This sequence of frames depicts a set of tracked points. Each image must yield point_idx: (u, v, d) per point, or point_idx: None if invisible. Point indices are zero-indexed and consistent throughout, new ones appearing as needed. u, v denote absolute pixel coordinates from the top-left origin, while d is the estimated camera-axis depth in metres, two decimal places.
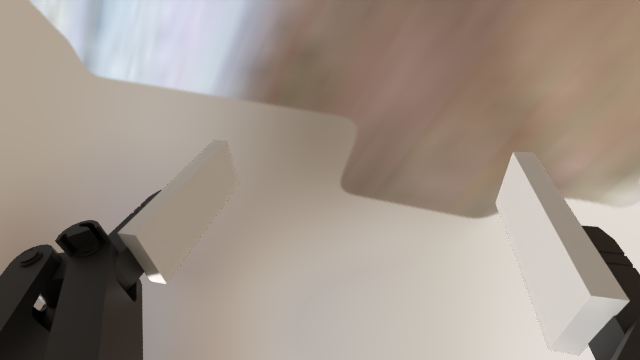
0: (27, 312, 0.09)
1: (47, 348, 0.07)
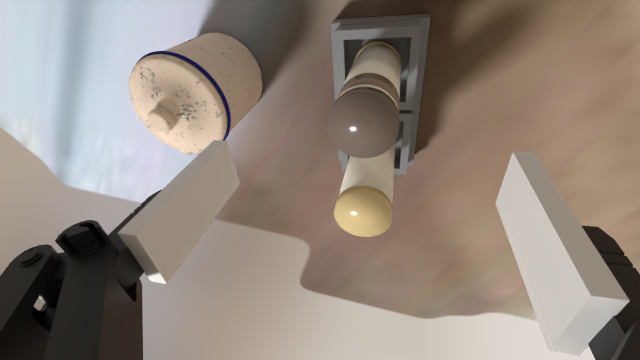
0: (27, 312, 0.09)
1: (47, 348, 0.07)
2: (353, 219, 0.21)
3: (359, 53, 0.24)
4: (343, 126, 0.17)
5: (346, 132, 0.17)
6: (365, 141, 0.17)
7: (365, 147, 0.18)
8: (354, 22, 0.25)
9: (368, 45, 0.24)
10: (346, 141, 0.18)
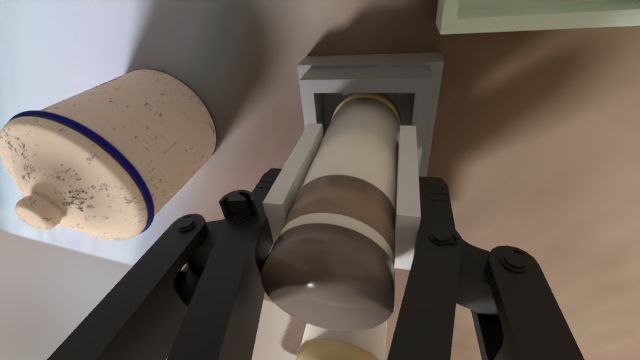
0: (170, 280, 0.09)
1: (190, 303, 0.08)
2: None
3: (338, 111, 0.16)
4: (290, 288, 0.09)
5: (297, 296, 0.09)
6: (332, 311, 0.09)
7: (333, 318, 0.10)
8: (331, 64, 0.17)
9: (351, 99, 0.17)
10: (298, 306, 0.10)
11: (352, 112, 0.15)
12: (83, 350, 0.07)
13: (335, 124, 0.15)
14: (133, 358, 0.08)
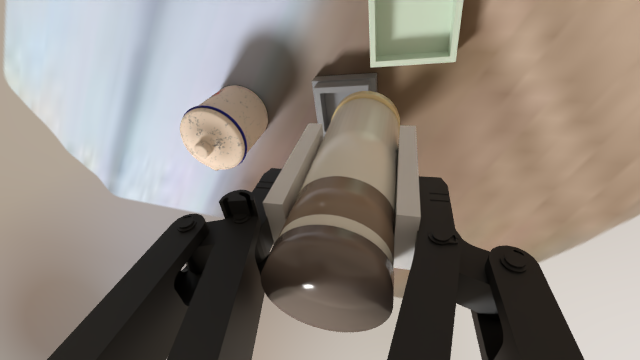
0: (170, 280, 0.09)
1: (190, 303, 0.08)
2: None
3: (337, 112, 0.16)
4: (290, 289, 0.09)
5: (296, 297, 0.09)
6: (331, 312, 0.10)
7: (332, 319, 0.10)
8: (327, 80, 0.37)
9: (351, 100, 0.17)
10: (297, 307, 0.10)
11: (351, 113, 0.15)
12: (83, 350, 0.07)
13: (335, 125, 0.15)
14: (133, 358, 0.08)
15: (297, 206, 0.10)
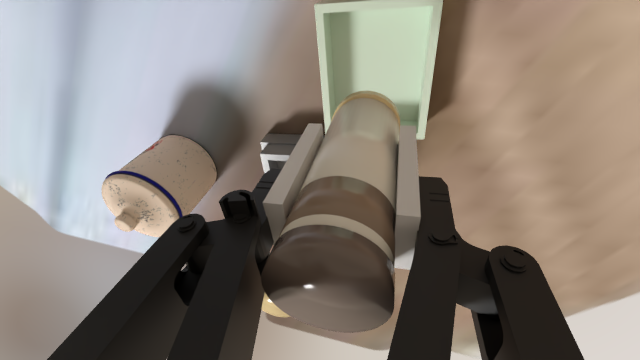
0: (170, 280, 0.09)
1: (190, 303, 0.08)
2: (269, 305, 0.28)
3: (338, 112, 0.16)
4: (290, 289, 0.09)
5: (297, 297, 0.09)
6: (332, 312, 0.09)
7: (333, 319, 0.10)
8: (278, 142, 0.32)
9: (351, 99, 0.17)
10: (298, 307, 0.10)
11: (352, 113, 0.15)
12: (83, 349, 0.07)
13: (335, 125, 0.15)
14: (133, 358, 0.08)
15: (298, 206, 0.10)
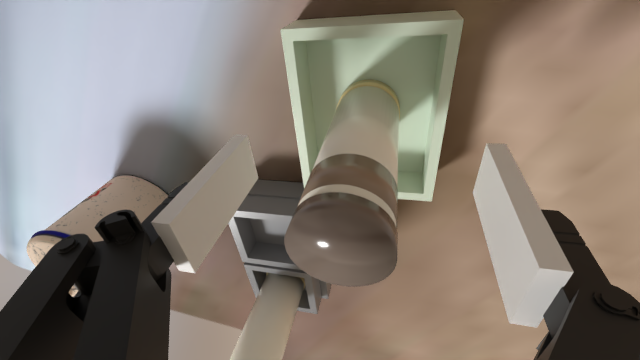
0: (61, 300, 0.09)
1: (81, 332, 0.07)
2: None
3: (343, 99, 0.18)
4: (309, 248, 0.11)
5: (315, 255, 0.11)
6: (345, 268, 0.11)
7: (345, 274, 0.11)
8: None
9: (355, 88, 0.18)
10: (315, 265, 0.11)
11: (356, 100, 0.17)
12: None
13: (341, 111, 0.16)
14: None
15: (313, 180, 0.12)
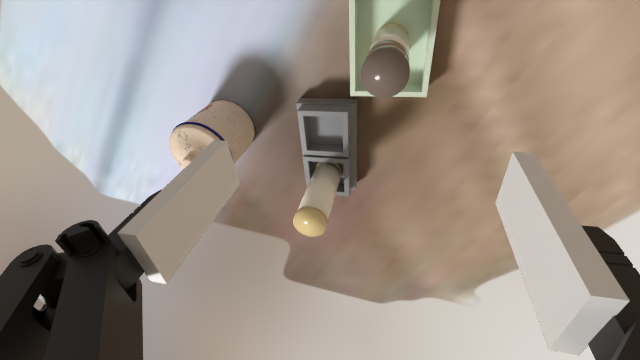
0: (27, 312, 0.09)
1: (47, 348, 0.07)
2: (304, 226, 0.36)
3: (378, 32, 0.33)
4: (371, 73, 0.25)
5: (373, 78, 0.26)
6: (386, 84, 0.26)
7: (386, 89, 0.26)
8: (311, 103, 0.40)
9: (384, 26, 0.33)
10: (372, 85, 0.26)
11: (386, 29, 0.31)
12: None
13: (379, 34, 0.31)
14: None
15: (371, 49, 0.26)
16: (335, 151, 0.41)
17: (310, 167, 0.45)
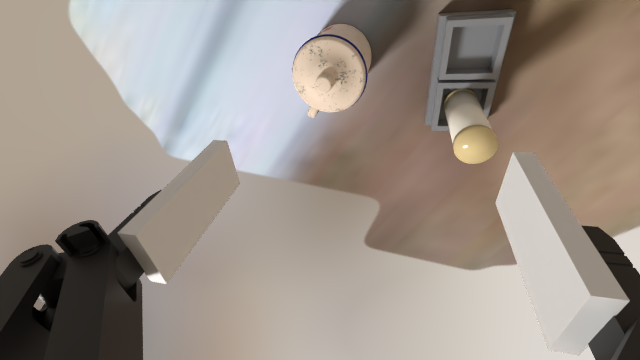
0: (27, 312, 0.09)
1: (47, 348, 0.07)
2: (468, 149, 0.31)
3: None
4: None
5: None
6: None
7: None
8: (458, 15, 0.34)
9: None
10: None
11: None
12: None
13: None
14: None
15: None
16: (481, 73, 0.36)
17: None
